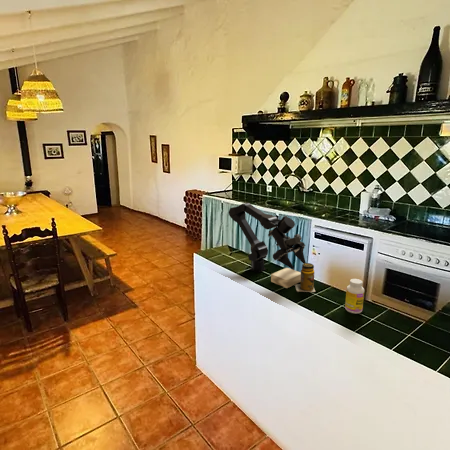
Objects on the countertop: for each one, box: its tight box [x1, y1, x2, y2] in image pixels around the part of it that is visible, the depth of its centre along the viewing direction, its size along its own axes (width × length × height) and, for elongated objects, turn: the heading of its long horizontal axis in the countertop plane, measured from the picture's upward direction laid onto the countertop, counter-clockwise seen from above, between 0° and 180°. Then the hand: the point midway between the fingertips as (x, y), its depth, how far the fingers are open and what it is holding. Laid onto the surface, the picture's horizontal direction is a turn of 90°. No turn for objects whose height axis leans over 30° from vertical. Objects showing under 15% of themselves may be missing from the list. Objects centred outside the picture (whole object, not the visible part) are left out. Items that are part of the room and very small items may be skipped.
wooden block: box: [270, 267, 301, 289], centre depth 157 cm, size 10×12×4 cm
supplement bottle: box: [344, 278, 365, 315], centre depth 128 cm, size 7×7×13 cm
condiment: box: [294, 262, 316, 293], centre depth 148 cm, size 7×8×12 cm
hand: (299, 265), depth 150 cm, fingers open, 9 cm apart
